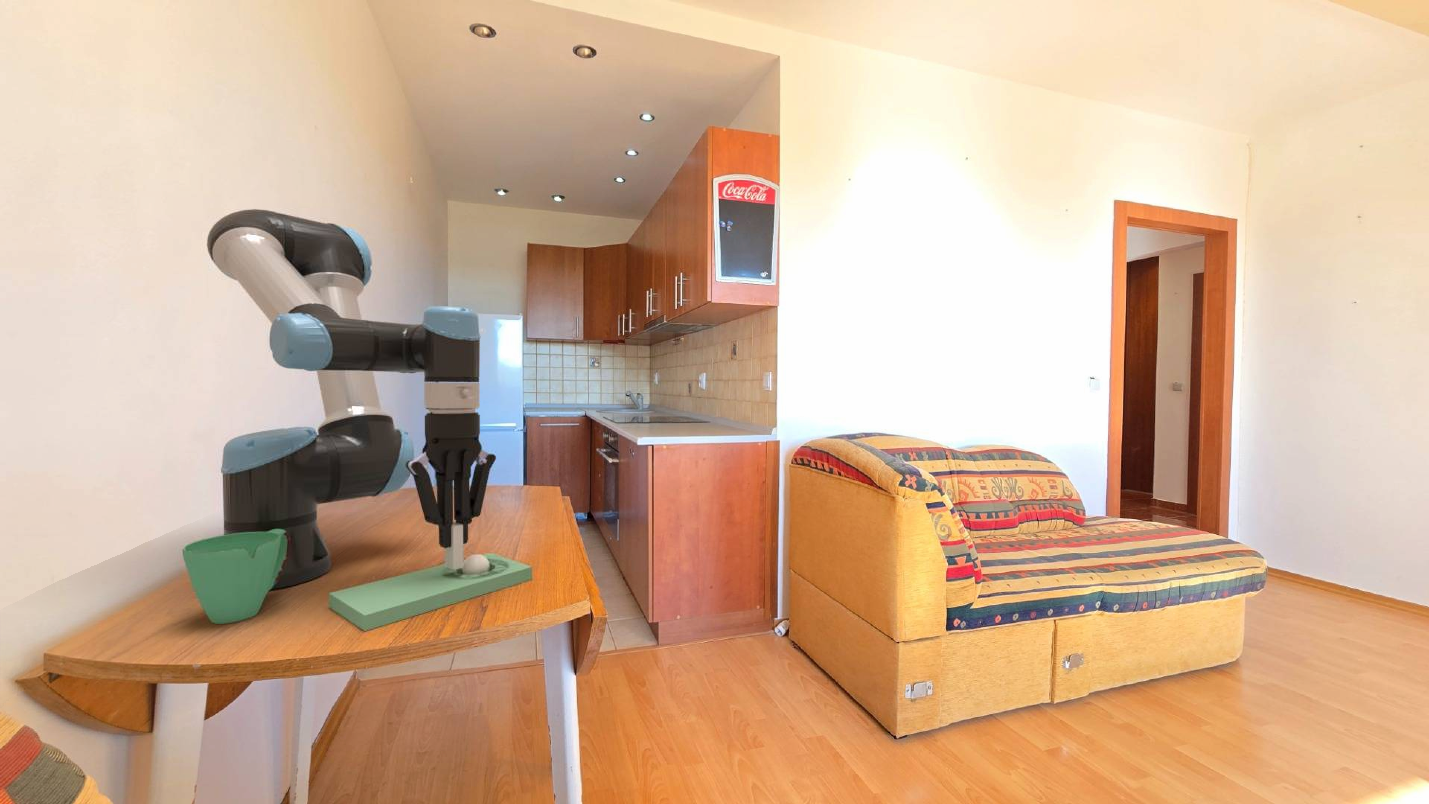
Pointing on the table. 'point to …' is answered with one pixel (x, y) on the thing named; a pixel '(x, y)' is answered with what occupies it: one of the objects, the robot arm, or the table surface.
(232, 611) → the mug
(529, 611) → the table surface
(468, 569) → the ball
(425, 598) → the green rectangular board
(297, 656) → the table surface
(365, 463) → the robot arm
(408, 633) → the table surface
